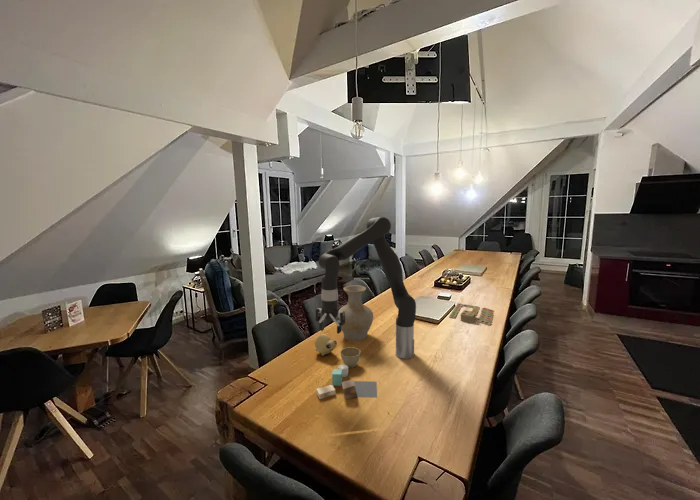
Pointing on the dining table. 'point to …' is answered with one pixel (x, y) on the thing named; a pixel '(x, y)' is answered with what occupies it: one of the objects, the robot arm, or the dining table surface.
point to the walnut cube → (349, 389)
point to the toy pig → (324, 344)
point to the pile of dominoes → (473, 314)
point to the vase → (356, 315)
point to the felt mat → (366, 388)
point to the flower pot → (350, 356)
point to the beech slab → (325, 391)
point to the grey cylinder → (344, 370)
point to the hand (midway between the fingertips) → (330, 331)
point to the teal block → (337, 377)
